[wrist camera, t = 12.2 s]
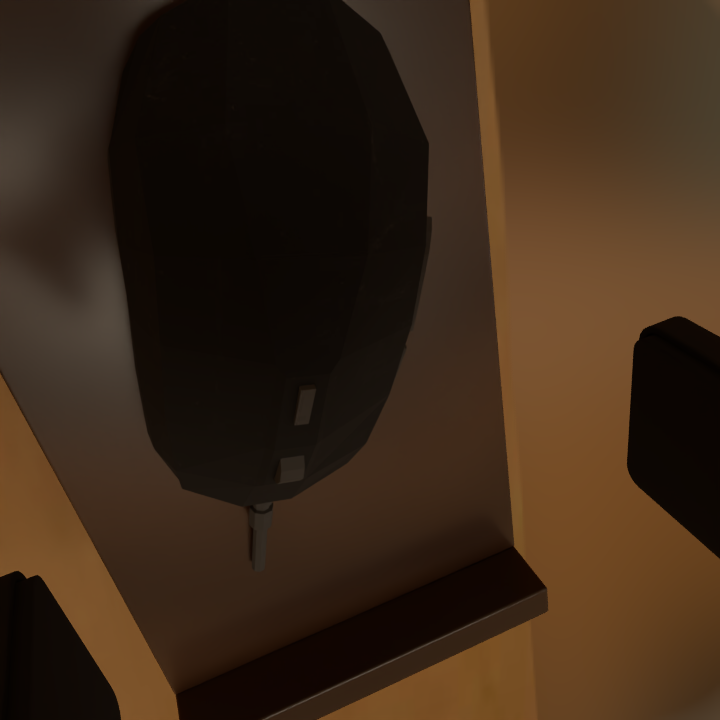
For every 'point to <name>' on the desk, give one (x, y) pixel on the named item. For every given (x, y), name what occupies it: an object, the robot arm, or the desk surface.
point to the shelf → (323, 499)
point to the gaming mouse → (266, 240)
